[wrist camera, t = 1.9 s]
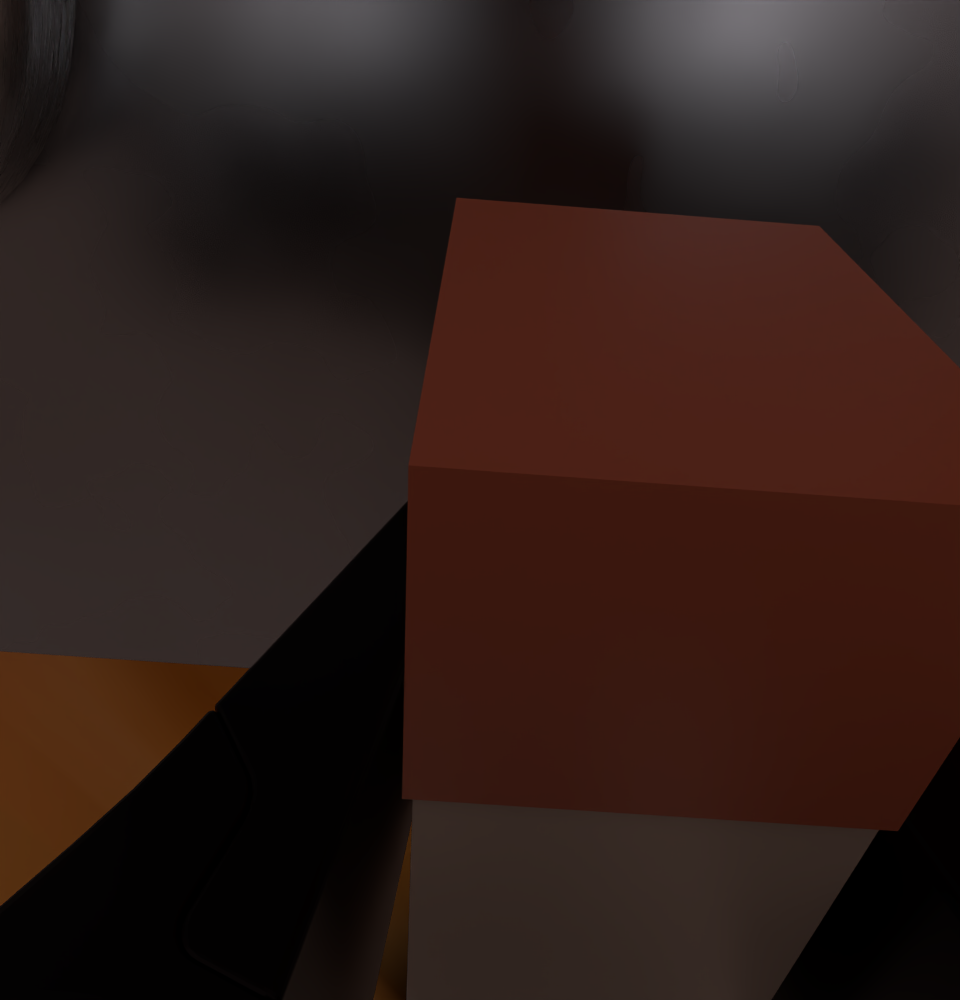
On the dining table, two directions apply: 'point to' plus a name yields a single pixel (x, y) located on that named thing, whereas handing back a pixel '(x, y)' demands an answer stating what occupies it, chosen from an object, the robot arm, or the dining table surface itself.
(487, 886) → the red and white block
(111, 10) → the grey board
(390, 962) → the dining table surface
